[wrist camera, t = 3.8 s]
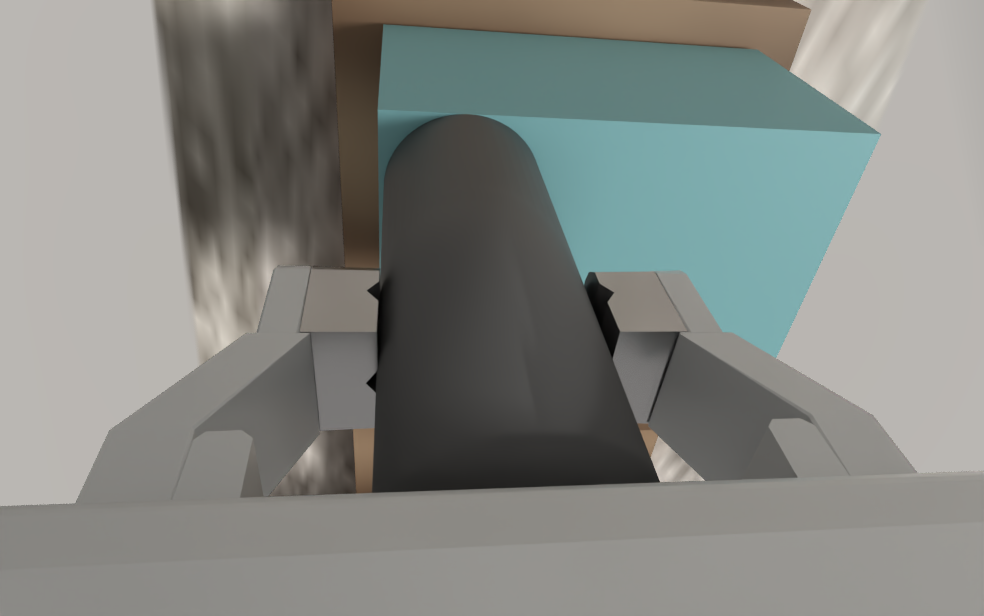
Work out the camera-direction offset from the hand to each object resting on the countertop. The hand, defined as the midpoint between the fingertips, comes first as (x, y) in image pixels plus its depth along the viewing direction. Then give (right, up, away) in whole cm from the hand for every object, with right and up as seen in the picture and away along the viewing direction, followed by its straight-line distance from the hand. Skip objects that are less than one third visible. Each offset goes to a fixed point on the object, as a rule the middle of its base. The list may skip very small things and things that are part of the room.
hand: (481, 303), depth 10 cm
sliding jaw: (+2, +4, +9) cm, 11 cm away
